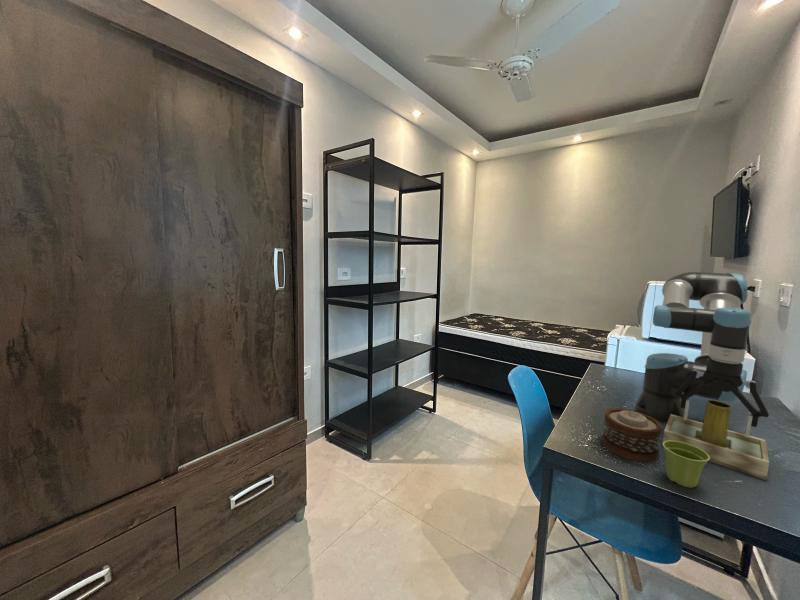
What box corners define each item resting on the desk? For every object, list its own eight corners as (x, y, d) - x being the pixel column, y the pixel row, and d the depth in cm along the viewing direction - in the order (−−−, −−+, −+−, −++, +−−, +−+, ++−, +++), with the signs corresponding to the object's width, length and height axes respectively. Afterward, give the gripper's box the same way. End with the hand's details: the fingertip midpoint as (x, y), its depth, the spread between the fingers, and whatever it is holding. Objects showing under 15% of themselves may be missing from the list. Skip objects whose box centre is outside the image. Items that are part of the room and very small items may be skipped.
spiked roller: (664, 413, 101) (663, 433, 90) (660, 446, 102) (658, 469, 91) (608, 399, 110) (601, 415, 99) (605, 429, 112) (597, 448, 100)
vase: (706, 440, 104) (713, 398, 102) (730, 451, 98) (738, 406, 96) (693, 443, 102) (700, 400, 100) (717, 454, 97) (725, 409, 95)
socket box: (662, 445, 103) (664, 430, 102) (669, 427, 114) (670, 414, 113) (766, 480, 87) (769, 462, 87) (762, 455, 98) (765, 440, 98)
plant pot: (652, 465, 92) (656, 437, 91) (692, 472, 90) (697, 443, 89) (668, 488, 84) (673, 456, 82) (713, 496, 81) (719, 464, 80)
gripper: (669, 353, 103) (661, 416, 106) (791, 374, 85) (777, 449, 88) (672, 348, 108) (664, 408, 111) (788, 367, 91) (775, 438, 94)
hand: (714, 426), depth 100 cm, fingers open, 13 cm apart
